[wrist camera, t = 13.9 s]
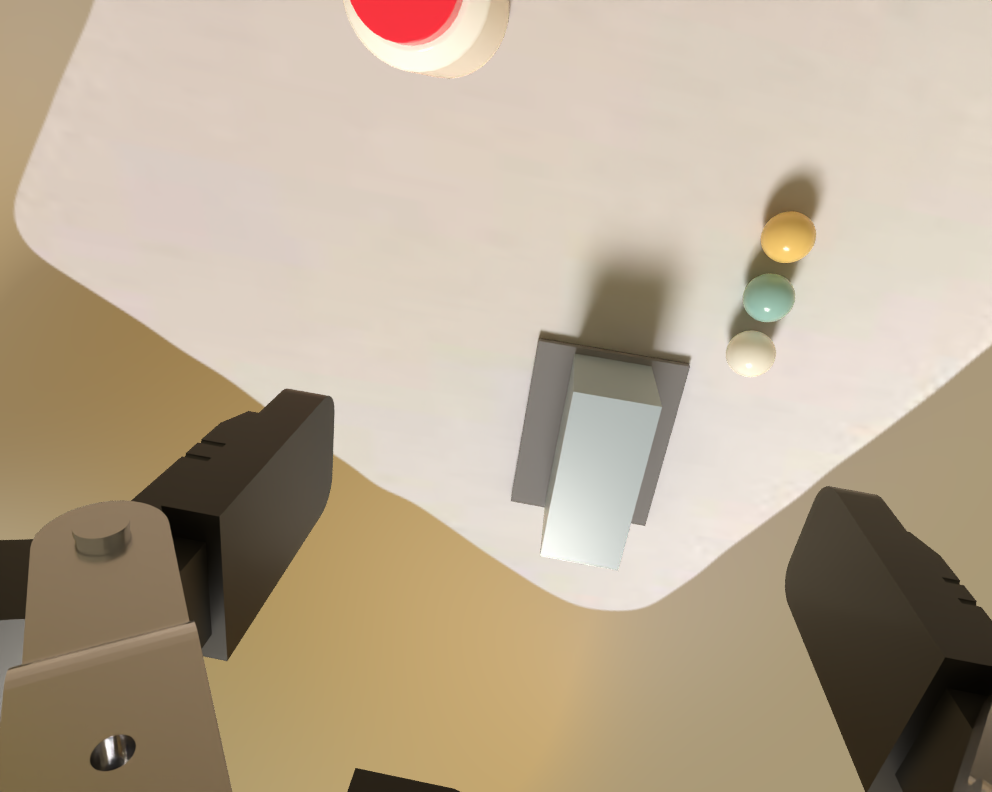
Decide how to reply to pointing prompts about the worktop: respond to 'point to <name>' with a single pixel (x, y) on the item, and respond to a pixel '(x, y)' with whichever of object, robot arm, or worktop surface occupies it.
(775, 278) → the marble teal
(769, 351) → the marble white
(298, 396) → the robot arm
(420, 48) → the pill bottle
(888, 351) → the worktop surface
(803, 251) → the marble amber
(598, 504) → the cover
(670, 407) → the mat
